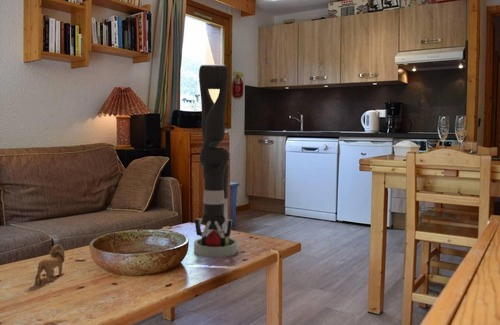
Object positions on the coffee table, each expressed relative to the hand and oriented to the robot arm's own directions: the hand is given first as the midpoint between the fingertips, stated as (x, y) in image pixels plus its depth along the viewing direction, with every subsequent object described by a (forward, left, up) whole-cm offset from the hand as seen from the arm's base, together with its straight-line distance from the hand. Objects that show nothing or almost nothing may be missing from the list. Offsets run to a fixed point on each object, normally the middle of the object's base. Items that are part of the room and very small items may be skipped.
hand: (213, 246), depth 160 cm
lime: (-5, +3, -2) cm, 6 cm away
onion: (0, 0, -2) cm, 2 cm away
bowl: (-2, +1, -3) cm, 4 cm away
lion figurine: (+32, -45, -3) cm, 55 cm away
